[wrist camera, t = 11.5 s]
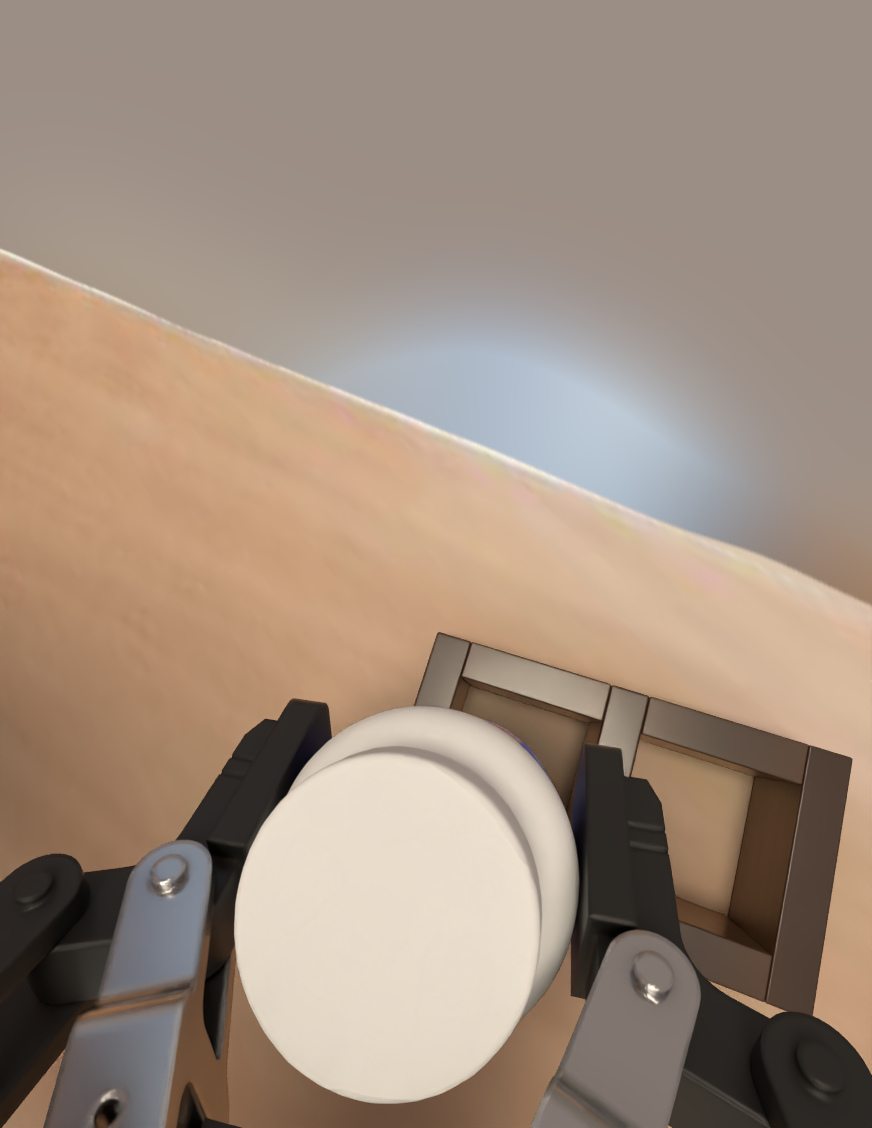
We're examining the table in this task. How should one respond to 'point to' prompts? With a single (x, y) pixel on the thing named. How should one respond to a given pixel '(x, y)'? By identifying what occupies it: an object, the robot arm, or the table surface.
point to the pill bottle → (406, 904)
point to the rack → (773, 828)
